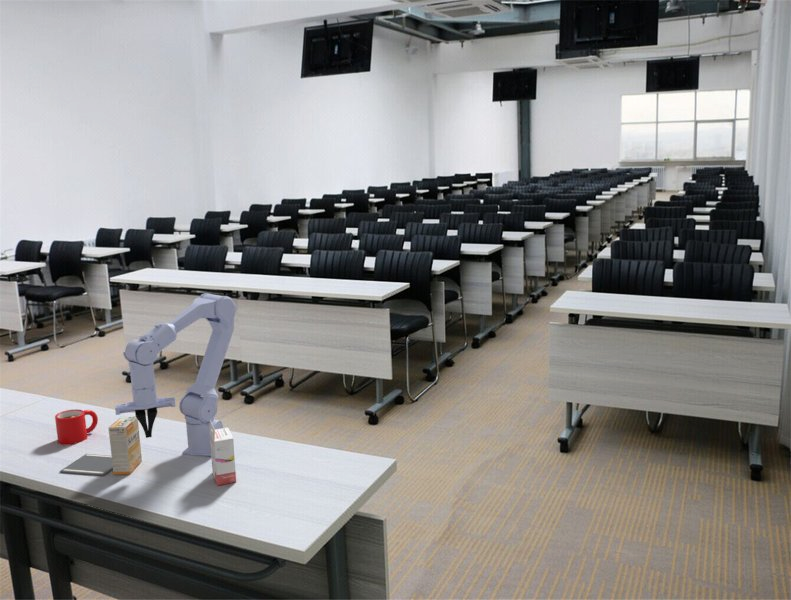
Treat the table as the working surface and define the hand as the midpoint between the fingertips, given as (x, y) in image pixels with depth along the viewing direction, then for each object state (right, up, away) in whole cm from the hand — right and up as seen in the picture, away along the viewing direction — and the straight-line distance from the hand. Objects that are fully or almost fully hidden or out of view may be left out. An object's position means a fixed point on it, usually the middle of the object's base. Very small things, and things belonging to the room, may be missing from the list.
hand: (148, 436), depth 181 cm
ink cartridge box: (+21, -10, -3) cm, 23 cm away
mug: (-29, -5, +25) cm, 39 cm away
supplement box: (-7, -9, +3) cm, 12 cm away
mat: (-16, -9, +5) cm, 19 cm away
